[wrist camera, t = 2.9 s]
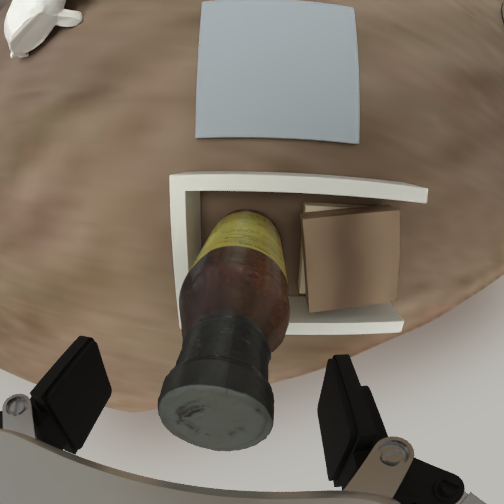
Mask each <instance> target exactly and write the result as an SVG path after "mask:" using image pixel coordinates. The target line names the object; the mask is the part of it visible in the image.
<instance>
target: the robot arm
mask: <svg viewBox="0 0 504 504" xmlns="http://www.w3.org/2000/svg"><path fill="white" fill-rule="evenodd" d="M502 14H503V19H504V4H503V6H502ZM111 392H112V389H111V385H110V383H109V380H108V377H107V374H106V371H105V368H104V365H103V361H102V358H101V355H100V352H99V348H98V345H97V343H96V342H95V341H94V339H93V338H91V337H85V336H79V337H78V338H77V339H76V340H75V341H74V342H73V344H72V345H71V346H70V347H69V348H68V349H67V350H66V351H65V352H64V354H63V355H62V356H61V357H60V358H59V359H58V360H57V362H56V363H55V364H54V365H53V366H52V367H51V369H50V370H49V371H48V372H47V373H46V374H45V376H44V377H43V378H42V379H41V380H40V381H39V383H38V384H37V385H36V386H35V388H34V389H33V390H32V391H31V392H30V394H31V396H32V397H31V398H30V399H29V398H28V397H27V396H26V395H23V394H16V395H12V396H11V397H9V398H8V399H7V400H6V401H5V402H4V404H3V411H0V504H486V503H484V502H483V501H482V500H480V499H479V498H478V497H476V496H475V495H474V494H472V493H471V492H470V493H469V494H467V493H466V492H464V484H463V481H462V480H461V479H460V478H459V476H457V475H455V474H453V473H450V472H447V471H445V470H442V469H440V468H437V467H435V466H433V465H430V464H428V463H425V462H423V461H421V460H418V459H416V458H414V450H413V448H412V446H411V444H410V443H408V441H406V440H404V439H402V438H399V437H388V435H387V433H386V430H385V427H384V425H383V422H382V419H381V417H380V414H379V411H378V409H377V407H376V404H375V401H374V398H373V396H372V393H371V391H370V389H369V387H368V386H361V385H360V383H359V380H358V377H357V374H356V372H355V369H354V366H353V364H352V362H351V359H350V356H349V355H348V354H346V355H334V356H333V359H328V362H327V367H326V372H325V377H324V381H323V386H322V390H321V394H320V399H319V403H318V419H319V424H320V430H321V435H322V442H323V448H324V454H325V461H326V467H327V474H328V479H329V481H332V480H333V482H334V487H340V486H342V491H304V492H256V491H236V490H223V489H213V488H205V487H197V486H190V485H184V484H178V483H172V482H167V481H162V480H157V479H153V478H148V477H144V476H140V475H136V474H132V473H128V472H125V471H121V470H117V469H114V468H111V467H108V466H104V465H101V464H98V463H95V462H92V461H90V460H86V459H84V458H81V457H79V456H76V455H73V454H76V452H77V450H78V449H80V448H82V446H83V444H84V442H85V440H86V439H87V437H88V435H89V433H90V431H91V430H92V428H93V426H94V424H95V422H96V420H97V418H98V417H99V415H100V413H101V411H102V410H103V408H104V406H105V404H106V403H107V401H108V399H109V398H110V396H111ZM63 449H65V451H63ZM66 451H68V452H70V453H68V452H66ZM71 453H73V454H71Z"/></svg>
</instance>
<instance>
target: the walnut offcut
mask: <svg viewBox="0 0 504 504" xmlns="http://www.w3.org/2000/svg"><path fill="white" fill-rule="evenodd" d="M299 217H300V227H301V238H302V250H303V262H304V275H305V289H306V301H307V305H308V309H309V313H312V312H320V311H328V310H336V309H343V308H350V307H357V306H364V305H370V304H377V303H383V302H389V301H395V300H397V292H398V278H399V259H400V210H399V209H397V208H394V207H392V206H390V205H378V206H366V207H355V208H344V209H334V210H323V211H314V212H304V213H299Z"/></svg>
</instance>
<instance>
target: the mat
mask: <svg viewBox="0 0 504 504" xmlns="http://www.w3.org/2000/svg"><path fill="white" fill-rule="evenodd" d="M359 115H360V110H359V67H358V49H357V35H356V24H355V14H354V8H352V7H346V6H340V5H334V4H326V3H318V2H309V1H297V0H219V1H207V2H202V11H201V23H200V36H199V51H198V69H197V92H196V130H195V138H280V139H300V140H315V141H328V142H339V143H348V144H359Z"/></svg>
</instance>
